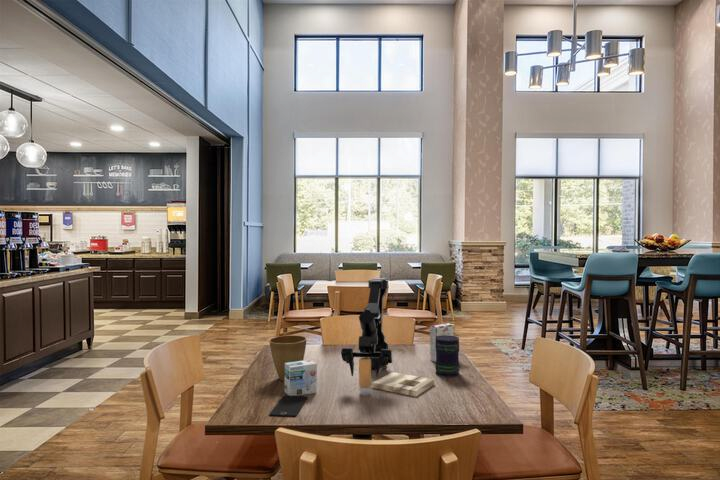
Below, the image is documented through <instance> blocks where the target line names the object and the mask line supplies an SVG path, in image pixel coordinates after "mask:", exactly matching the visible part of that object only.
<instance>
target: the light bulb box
mask: <svg viewBox="0 0 720 480" xmlns="http://www.w3.org/2000/svg"><path fill="white" fill-rule="evenodd" d="M317 369H318V363H316V362H315V361H313V360H312V359H306V360H305V359H303V361H296V362H289V363H285V381H284V393H286V395H290V396H306V395H310V394H317V393H318V391H317V388H318V386H317V384H318V381H317V380H318V379H317V378H318V377H317V376H318V375H317V374H318V370H317Z"/></svg>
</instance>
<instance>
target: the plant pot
mask: <svg viewBox="0 0 720 480" xmlns="http://www.w3.org/2000/svg"><path fill="white" fill-rule="evenodd" d="M268 341H269V347H270V352H271V359H272V362H273V365H274V368H275V371H276V373H277V377H278V378H279V380H280V381H284V382H285V363H289V362H296V361H304V360H305V353H306V347H307V346H306V345H307V337H306V336H303V335H297V334H296V335H295V334H291V335H289V334H288V335H280V336H275V337H272V338H270V339H269V340H268Z"/></svg>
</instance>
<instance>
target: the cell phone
mask: <svg viewBox="0 0 720 480" xmlns="http://www.w3.org/2000/svg"><path fill="white" fill-rule="evenodd" d="M308 397H309V396H307V395H298V396H290V395H288V394H285V395H283V396H282V397H281V398H280V400H278V402H277V403H276V404H275V406H274V407H273V409H272V410H271V411H270V412H269V414H268V416H269V417H279V418H280V417H283V418H297V416H298V415H299V413H300V412H301V410H302V408H303V406H304V405H305V404H306V401H307V400H308V399H309V398H308Z"/></svg>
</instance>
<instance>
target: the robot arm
mask: <svg viewBox="0 0 720 480" xmlns="http://www.w3.org/2000/svg"><path fill="white" fill-rule="evenodd" d="M367 282H368V288H367V289H369V295H368V301H367V305H366V306H365V307H364V309H363V312H361V313H360V315H358V321H359V324H360V329H361V335H360V336H358V344H357V345H358V350H359V351H354V348H353V347H342V349H341V352H340V355H341V358H342V361H343V362H345V363H346V364H348V365H349V368H350V373H351V374H350V375H351V377H353V376H354V371H355V360H354V359H355V358H370V359H371V370H376V371H375V373H376V375H375V377H376V378H378V377H379V375H380V374H381V372H382V370H384V369H386V368H388V365H389V364H392V363H393V352H392V350H391V349H390V348H389V343H388V342H387V340H386V336H385V335H384V332H383V319H384V318H383V316H384V315H383V314H384V313H383V310H384V298H385V296H386V295H387V292H388V289H389V280H387V279H386V277H372V278H371V279H370V280H368V281H367Z"/></svg>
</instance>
